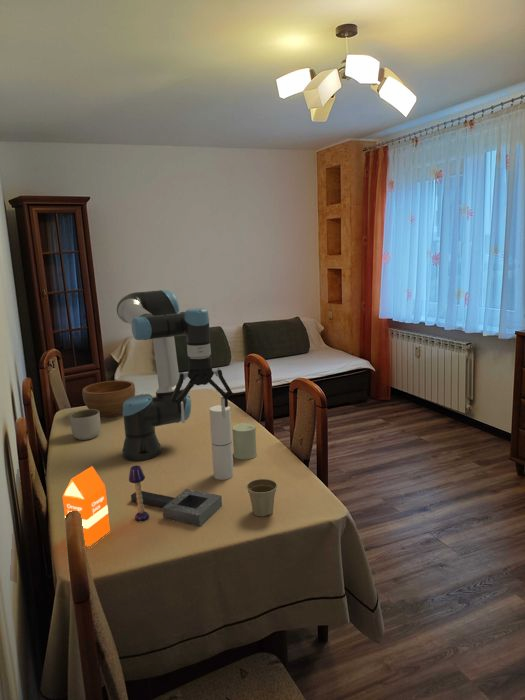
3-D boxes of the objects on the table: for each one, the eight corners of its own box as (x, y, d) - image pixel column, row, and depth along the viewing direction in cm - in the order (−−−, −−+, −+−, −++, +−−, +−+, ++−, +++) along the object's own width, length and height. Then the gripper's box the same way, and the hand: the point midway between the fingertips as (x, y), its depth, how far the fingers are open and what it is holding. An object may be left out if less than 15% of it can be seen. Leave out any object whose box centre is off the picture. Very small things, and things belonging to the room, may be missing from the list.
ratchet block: (121, 508, 159) (120, 498, 158) (147, 490, 170) (146, 481, 170) (200, 526, 147) (199, 515, 146) (222, 505, 158) (221, 495, 157)
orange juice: (67, 543, 141) (59, 477, 137) (89, 527, 149) (81, 464, 145) (90, 548, 138) (82, 480, 134) (110, 531, 146) (103, 467, 142)
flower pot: (246, 505, 158) (245, 479, 156) (276, 502, 159) (275, 477, 157) (248, 520, 149) (247, 493, 147) (280, 518, 149) (279, 491, 148)
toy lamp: (138, 524, 149) (133, 471, 146) (129, 519, 152) (124, 467, 149) (152, 517, 153) (147, 466, 150) (143, 512, 156) (138, 462, 153)
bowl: (99, 408, 266) (96, 380, 263) (144, 408, 262) (142, 380, 259) (75, 424, 242) (72, 393, 239) (125, 424, 238) (122, 393, 235)
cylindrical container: (218, 481, 175) (214, 412, 170) (210, 473, 181) (206, 407, 176) (236, 476, 178) (233, 409, 173) (228, 469, 184) (225, 403, 180)
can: (254, 460, 192) (252, 430, 189) (230, 459, 194) (229, 429, 191) (259, 450, 200) (257, 422, 198) (236, 449, 202) (235, 421, 200)
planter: (66, 440, 221) (63, 416, 218) (85, 430, 232) (83, 408, 230) (88, 443, 216) (86, 419, 214) (107, 433, 227) (105, 410, 225)
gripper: (161, 362, 156) (166, 427, 160) (239, 355, 162) (242, 417, 167) (159, 358, 163) (164, 420, 167) (234, 351, 170) (237, 411, 174)
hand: (203, 419), depth 167 cm, fingers open, 13 cm apart
